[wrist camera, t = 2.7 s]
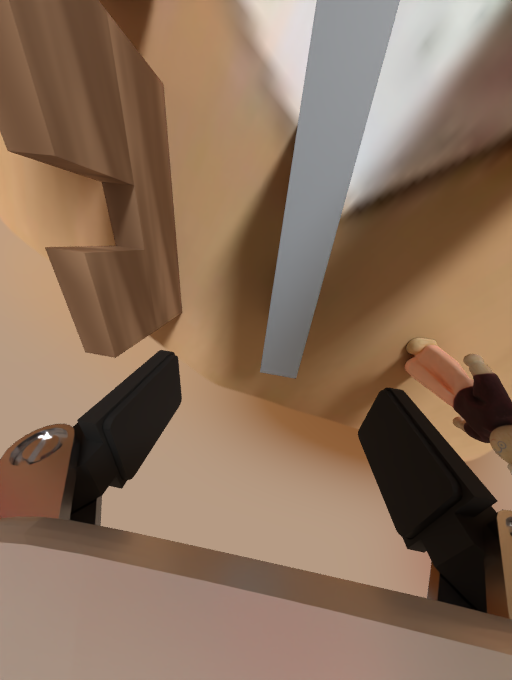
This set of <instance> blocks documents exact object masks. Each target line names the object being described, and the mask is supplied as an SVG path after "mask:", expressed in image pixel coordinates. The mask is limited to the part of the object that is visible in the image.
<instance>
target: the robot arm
mask: <svg viewBox="0 0 512 680" xmlns="http://www.w3.org/2000/svg"><path fill="white" fill-rule="evenodd" d="M181 399H182V398H181V386H180V375H179V364H178V357H177V356H175V354H174V352H170V351H163V350H160V351H158V352H157V353H156V354H155V355H154V356H152V357H151V358H150V359H149V360H148V361H147V362H145V364H143V365H142V366H141V367H139V368H138V369H137V370H136V371H135V372H134V373H132V374H131V375H130V376H129V377H128V378H126V379H125V380H124V381H123V382H122V383H121V384H119V385H118V386H117V387H116V388H115V389H114V390H112V391H111V392H110V393H109V394H108V395H106V396H105V397H104V398H103V399H102V400H101V401H99V402H98V403H97V404H96V405H95V406H93V407H92V408H91V409H90V410H89V411H88V412H86V413H85V414H84V415H83V416H82V417H80V418H79V419H78V423H77V424H76V425H75V426H73V427H72V426H70V425H67V424H53V425H49V426H45V427H43V428H40V429H37V430H35V431H33V432H31V433H29V434H27V435H25V436H24V437H22V438H21V439H19V440H18V441H16V442H15V443H14V444H13V445H12V446H11V447H9V448H8V449H7V450H6V452H5V453H4V455H3V456H2V458H1V459H0V680H512V511H511V510H501V511H499V512H497V513H496V511H495V510H494V509H493V508H492V506H491V505H493V504H494V503H496V502H497V500H496V499H495V497H494V496H493V495H492V494H491V493H490V492H489V490H488V489H487V488H486V487H485V486H484V485H483V484H482V482H481V481H480V480H479V479H478V477H477V476H476V475H475V474H474V473H473V472H472V470H471V469H470V468H469V467H468V466H467V465H466V463H465V462H464V461H463V460H462V459H461V458H460V456H459V455H458V454H457V453H456V452H455V450H454V449H453V448H452V447H451V446H450V445H449V443H448V442H447V441H446V440H445V439H444V438H443V436H442V435H441V434H440V433H439V432H438V431H437V429H436V428H435V427H434V426H433V425H432V424H431V422H430V421H429V420H428V419H427V418H426V416H425V415H424V414H423V413H422V412H421V411H420V409H419V408H418V407H417V406H416V405H415V404H414V402H413V401H412V400H411V399H410V398H409V397H408V395H407V394H406V393H405V392H404V391H403V390H399V389H393V388H385V389H384V390H381V391H380V392H379V394H378V396H377V398H376V399H375V401H374V403H373V405H372V407H371V409H370V410H369V412H368V414H367V416H366V418H365V420H364V421H363V423H362V425H361V427H360V429H359V431H358V436H359V440H360V442H361V445H362V447H363V450H364V452H365V454H366V457H367V459H368V462H369V464H370V467H371V469H372V472H373V474H374V476H375V479H376V482H377V484H378V486H379V489H380V491H381V494H382V496H383V499H384V501H385V504H386V506H387V508H388V511H389V513H390V516H391V518H392V521H393V523H394V526H395V528H396V530H397V532H398V533H399V534H400V535H401V536H402V537H403V539H404V542H405V544H406V547H407V549H410V550H415V551H420V552H425V551H427V552H428V554H429V556H430V559H431V561H432V562H431V570H430V578H429V586H428V594H427V598H422V597H418V596H414V595H410V594H405V593H401V592H397V591H392V590H388V589H384V588H379V587H375V586H370V585H366V584H361V583H357V582H353V581H349V580H344V579H340V578H336V577H331V576H327V575H322V574H318V573H314V572H309V571H304V570H300V569H296V568H291V567H287V566H282V565H278V564H274V563H269V562H265V561H260V560H256V559H251V558H247V557H242V556H238V555H233V554H229V553H224V552H220V551H215V550H211V549H206V548H202V547H197V546H193V545H188V544H183V543H179V542H174V541H170V540H165V539H161V538H156V537H151V536H146V535H142V534H138V533H133V532H128V531H123V530H118V529H112V528H108V527H103V526H100V523H101V504H102V495H103V493H104V492H105V490H106V489H107V488H108V486H113V487H117V488H123V486H124V484H125V483H126V481H127V480H130V479H132V478H133V477H134V475H135V474H136V473H137V471H138V469H139V468H140V466H141V465H142V463H143V462H144V460H145V458H146V457H147V455H148V454H149V452H150V451H151V449H152V448H153V446H154V445H155V443H156V441H157V440H158V438H159V437H160V435H161V434H162V432H163V431H164V429H165V427H166V426H167V424H168V423H169V421H170V420H171V418H172V417H173V415H174V413H175V412H176V410H177V409H178V407H179V405H180V403H181Z"/></svg>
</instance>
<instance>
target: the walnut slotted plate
mask: <svg viewBox="0 0 512 680" xmlns="http://www.w3.org/2000/svg"><path fill="white" fill-rule="evenodd" d="M0 132H1V134H2V137H3V140H4V142H5V145H6V147H7V150H8V151H10V152H13V153H16V154H19V155H22V156H25V157H28V158H31V159H34V160H37V161H40V162H43V163H46V164H49V165H52V166H55V167H58V168H61V169H64V170H67V171H70V172H74V173H77V174H80V175H83V176H86V177H89V178H92V179H95V180H98V181H101V182H102V185H103V189H104V194H105V198H106V203H107V207H108V212H109V216H110V221H111V225H112V230H113V235H114V239H115V244H116V246H84V247H45V249H46V251H47V254H48V256H49V259H50V262H51V264H52V266H53V269H54V272H55V274H56V277H57V280H58V282H59V285H60V287H61V290H62V292H63V295H64V298H65V300H66V303H67V306H68V308H69V311H70V313H71V316H72V319H73V321H74V323H75V326H76V329H77V332H78V334H79V337H80V339H81V342H82V344H83V347H84V350H85V352H87V353H93V354H98V355H104V356H109V357H115V358H116V357H117V356H119V355H120V354H122V353H123V352H125V351H126V350H127V349H129V348H130V347H132V346H133V345H135V344H136V343H138V342H139V341H141V340H142V339H144V338H145V337H147V336H148V335H150V334H151V333H153V332H154V331H156V330H157V329H159V328H160V327H161V326H163V325H164V324H166V323H167V322H169V321H170V320H172V319H173V318H175V317H176V316H178V315H179V314H181V313H182V305H181V293H180V280H179V268H178V256H177V244H176V232H175V220H174V208H173V196H172V183H171V171H170V159H169V147H168V135H167V123H166V111H165V99H164V87H163V83H162V82H161V80H160V79H159V78H158V76H157V75H156V74H155V73H154V71H153V70H152V69H151V67H150V66H149V65H148V64H147V62H146V61H145V60H144V58H143V57H142V56H141V55H140V53H139V52H138V51H137V49H136V48H135V47H134V45H133V44H132V43H131V42H130V40H129V39H128V38H127V36H126V35H125V34H124V33H123V31H122V30H121V29H120V27H119V26H118V25H117V24H116V22H115V21H114V20H113V18H112V17H111V16H110V14H109V13H108V12H107V11H106V9H105V8H104V7H103V5H102V4H101V3H100V2H99V0H0Z"/></svg>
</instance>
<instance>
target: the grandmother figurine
mask: <svg viewBox="0 0 512 680" xmlns="http://www.w3.org/2000/svg"><path fill="white" fill-rule="evenodd" d="M406 349H407V351H408V352H409V353H410V354H413V355H415V357H413V358H411V359H410V360H408V361H407V362H406V365H405V370H406V371H407V372H408V373H409V374H410V375H411V376H412V377H414V378H415V379H416V380H417V381H419V382H420V383H421V384H422V385H424V386H425V387H426V388H428V389H429V390H431V391H432V392H433V393H434V394H436V395H437V396H438V397H439V398H441V399H442V400H443V401H445V402H446V403H447V404H449V405H450V406H452V407H453V408H454V410H455V411H456V412H458V413H459V414H460V416H461V417H456V418H454V419H453V424H454V425H455V426H456V427H458V428H460V429H462V430H463V431H464V432H466V433H467V434H468V435H469V436H471V437H472V438H474V439H477V440H479V441H481V442H485V443H490V444H491V446H492V448H493V450H494V451H495V452H496V453H497V454H498V455H499V456H500V457H501V458H502V459H503V460H505V461H506V462H508V463H509V465H508V469H509V470H510V473H511V474H512V402H511V399H510V398H509V396H508V394H507V392H506V390H505V388H504V387H503V385H502V383H501V381H500V379H499V378H498V376H497V375H496V374H495V373H493V372H492V370H491V369H490V367H489V366H488V365H486V364H485V363H484V360H483V358H482V357H481V356H480V355H477V354H469V355H467V356H465V357H464V359H463V361H464V363H465V364H466V365H467V366H469V370H470V372H471V374H472V375H473V379H474V380H472V379H470V378H469V376H468V375H467V373H466V372H465V371H464V369H463V368H462V367H461V366H460V364H459V363H458V362H457V361H456V360H455V359H454V358H452V357H451V356H450V355H448V354H447V353H446V352H445V351H443V350H442V349H441V348H440V347H438V346H437V343H436V341H435V340H432V339H425V338H415V339H412V340H411V341H410V342H409V343H408V345H407V348H406Z"/></svg>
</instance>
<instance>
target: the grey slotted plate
mask: <svg viewBox="0 0 512 680" xmlns="http://www.w3.org/2000/svg"><path fill="white" fill-rule="evenodd" d="M399 2H400V0H317V3H316V9H315V16H314V22H313V29H312V35H311V42H310V48H309V55H308V62H307V68H306V75H305V81H304V88H303V94H302V101H301V107H300V114H299V120H298V127H297V134H296V140H295V147H294V153H293V160H292V166H291V173H290V179H289V186H288V193H287V199H286V206H285V212H284V219H283V225H282V232H281V238H280V245H279V251H278V258H277V265H276V271H275V278H274V284H273V291H272V297H271V304H270V310H269V317H268V323H267V330H266V337H265V343H264V350H263V356H262V363H261V369H260V372H262V373H267V374H273V375H279V376H284V377H290V378H295V379H296V377H297V373H298V370H299V366H300V362H301V359H302V355H303V352H304V348H305V344H306V341H307V337H308V333H309V330H310V326H311V322H312V319H313V315H314V311H315V308H316V304H317V301H318V297H319V293H320V290H321V286H322V282H323V279H324V275H325V271H326V268H327V264H328V260H329V257H330V253H331V250H332V246H333V242H334V239H335V235H336V231H337V228H338V224H339V220H340V217H341V213H342V209H343V206H344V202H345V199H346V195H347V191H348V188H349V184H350V180H351V177H352V173H353V169H354V166H355V162H356V158H357V155H358V151H359V148H360V144H361V140H362V137H363V133H364V129H365V126H366V122H367V118H368V115H369V111H370V107H371V104H372V100H373V97H374V93H375V89H376V86H377V82H378V78H379V75H380V71H381V67H382V64H383V60H384V56H385V53H386V49H387V46H388V42H389V38H390V35H391V31H392V27H393V24H394V20H395V16H396V13H397V9H398V5H399Z"/></svg>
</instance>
